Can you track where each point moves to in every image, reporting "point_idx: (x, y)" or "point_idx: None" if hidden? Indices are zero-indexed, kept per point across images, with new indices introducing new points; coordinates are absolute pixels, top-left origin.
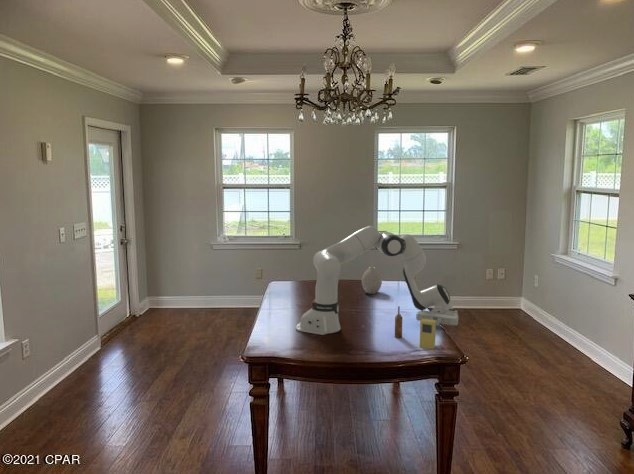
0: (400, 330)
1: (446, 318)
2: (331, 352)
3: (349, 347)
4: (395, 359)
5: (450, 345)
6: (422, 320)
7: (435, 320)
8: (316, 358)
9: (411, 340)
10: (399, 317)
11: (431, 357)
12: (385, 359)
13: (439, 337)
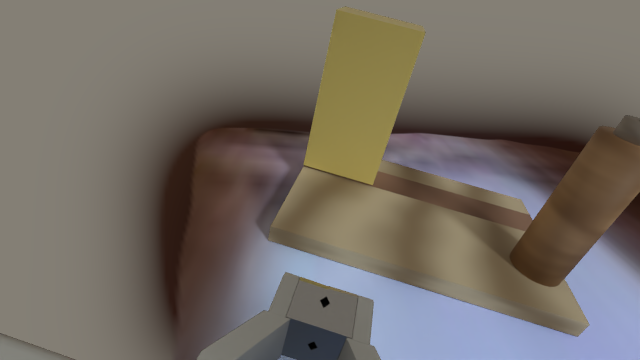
0: (541, 209)
1: (63, 358)
2: None
3: (629, 207)
4: (431, 137)
5: (197, 208)
6: (414, 25)
7: (339, 9)
8: None
9: None
10: (614, 131)
11: None
12: (458, 140)
13: None
